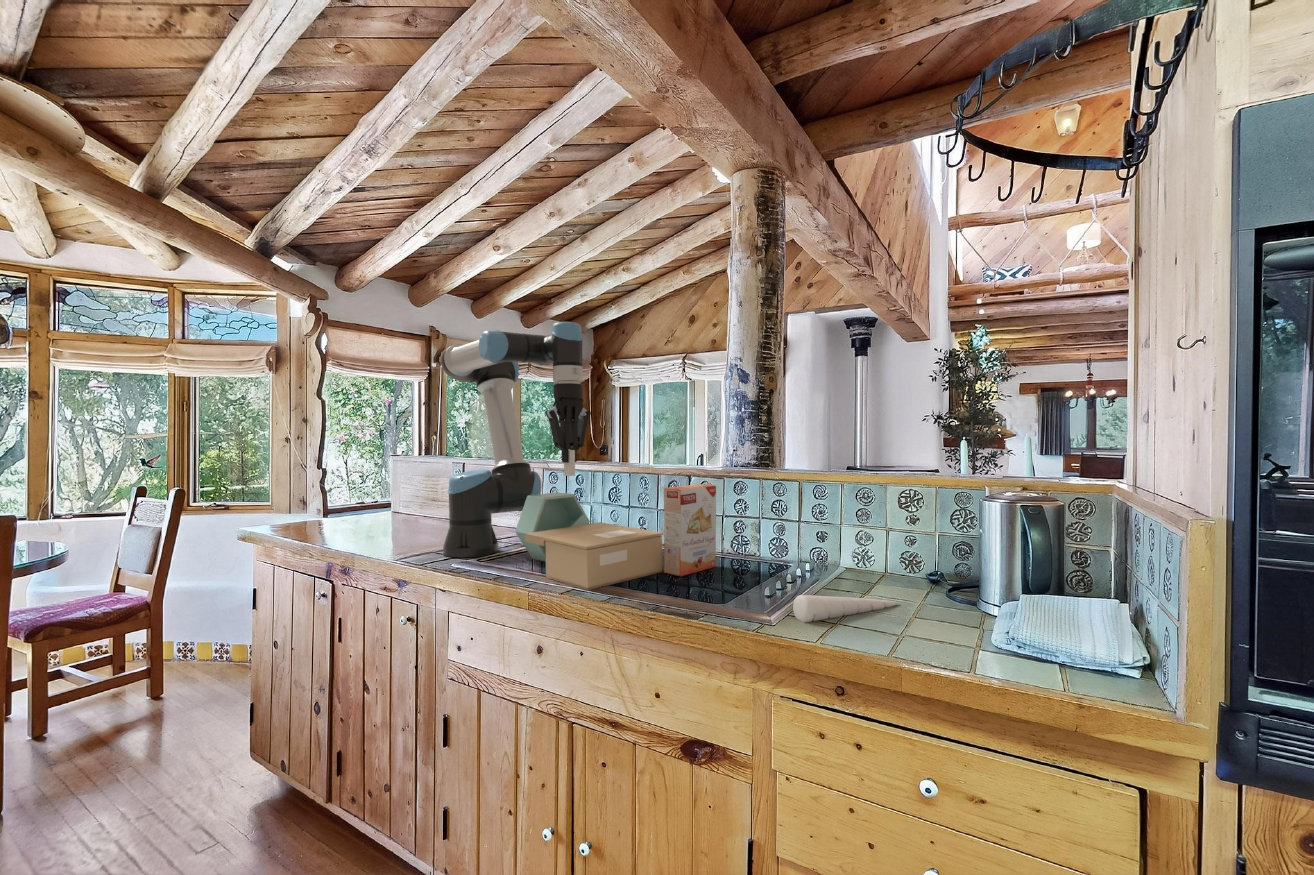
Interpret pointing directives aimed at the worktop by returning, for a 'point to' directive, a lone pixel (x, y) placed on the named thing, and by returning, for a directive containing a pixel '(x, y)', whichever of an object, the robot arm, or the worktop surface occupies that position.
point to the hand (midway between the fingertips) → (569, 475)
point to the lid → (590, 535)
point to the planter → (548, 517)
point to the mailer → (603, 562)
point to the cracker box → (689, 529)
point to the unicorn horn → (834, 606)
